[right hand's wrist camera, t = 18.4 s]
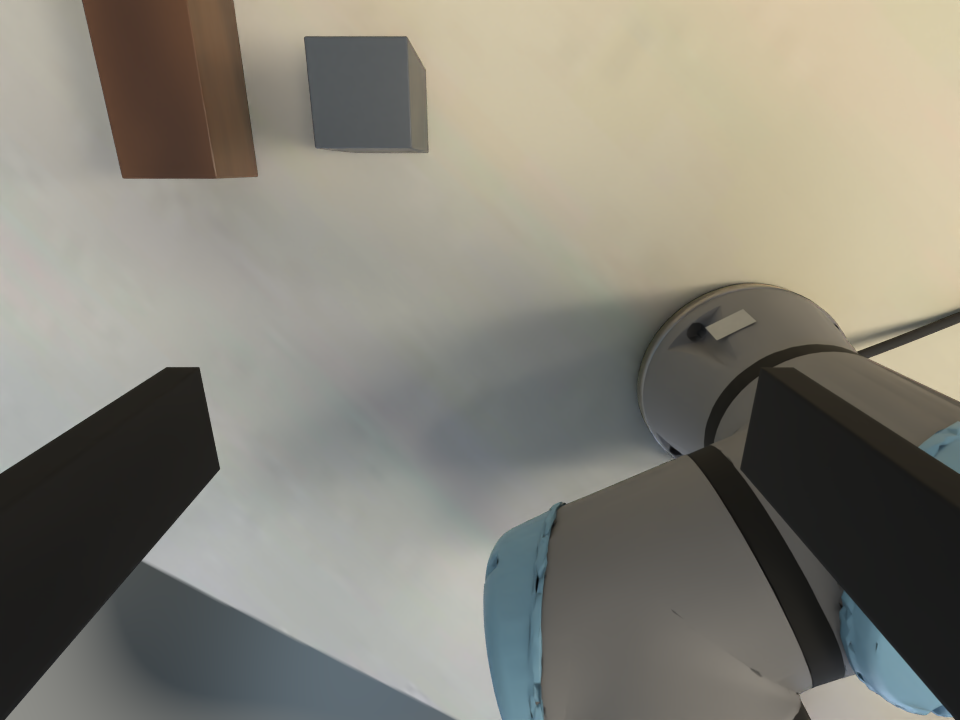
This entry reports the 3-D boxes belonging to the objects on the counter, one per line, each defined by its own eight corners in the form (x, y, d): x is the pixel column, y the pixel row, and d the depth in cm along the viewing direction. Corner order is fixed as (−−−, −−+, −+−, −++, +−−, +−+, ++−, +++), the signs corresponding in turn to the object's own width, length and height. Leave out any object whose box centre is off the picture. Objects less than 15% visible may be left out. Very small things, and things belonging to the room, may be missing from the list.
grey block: (425, 69, 33) (407, 35, 25) (428, 152, 35) (412, 148, 27) (348, 69, 33) (303, 36, 25) (354, 152, 35) (315, 148, 27)
